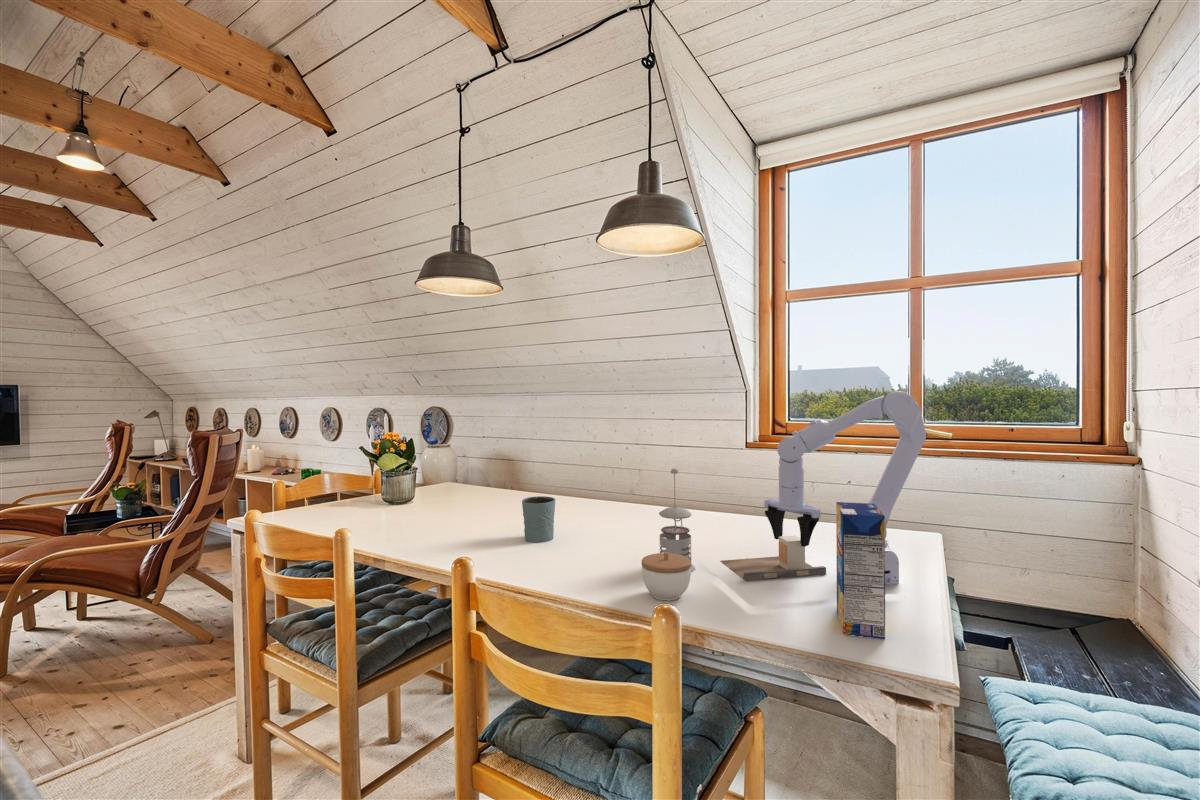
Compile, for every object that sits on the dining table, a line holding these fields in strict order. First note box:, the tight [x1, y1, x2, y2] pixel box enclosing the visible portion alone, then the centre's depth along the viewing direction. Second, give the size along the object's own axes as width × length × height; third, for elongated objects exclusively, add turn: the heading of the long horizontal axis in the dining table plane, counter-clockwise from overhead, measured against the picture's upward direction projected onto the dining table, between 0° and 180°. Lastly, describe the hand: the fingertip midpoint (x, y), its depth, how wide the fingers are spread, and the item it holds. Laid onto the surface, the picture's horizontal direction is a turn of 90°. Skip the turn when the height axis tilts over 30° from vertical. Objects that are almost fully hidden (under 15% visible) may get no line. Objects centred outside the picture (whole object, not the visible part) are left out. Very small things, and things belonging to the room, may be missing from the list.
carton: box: [778, 535, 806, 569], centre depth 134 cm, size 5×4×7 cm
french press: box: [658, 468, 696, 573], centre depth 140 cm, size 10×12×25 cm
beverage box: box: [835, 501, 886, 640], centre depth 104 cm, size 7×11×22 cm, turn 162°
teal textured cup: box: [521, 495, 556, 544], centre depth 168 cm, size 10×10×12 cm
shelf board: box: [719, 555, 827, 582], centre depth 135 cm, size 15×20×3 cm
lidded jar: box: [641, 552, 692, 602], centre depth 121 cm, size 11×11×9 cm
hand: (791, 542), depth 134 cm, fingers open, 7 cm apart
